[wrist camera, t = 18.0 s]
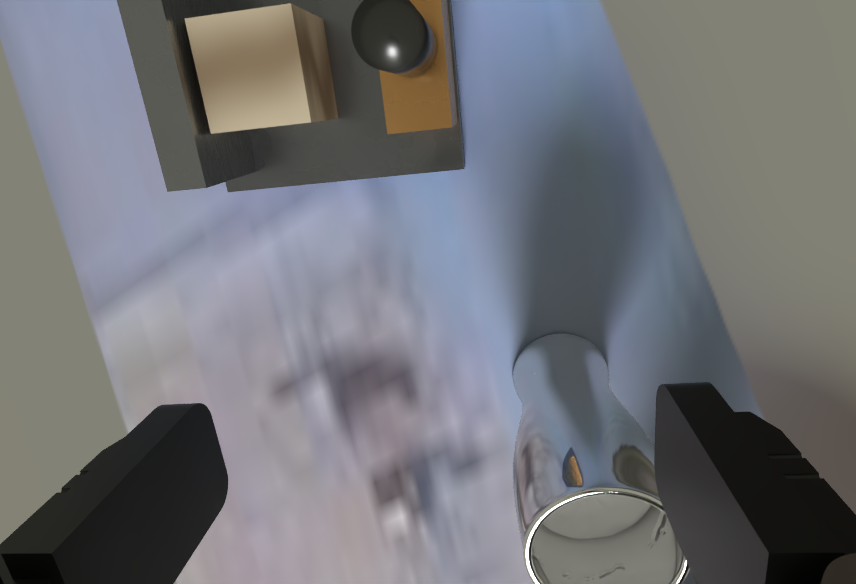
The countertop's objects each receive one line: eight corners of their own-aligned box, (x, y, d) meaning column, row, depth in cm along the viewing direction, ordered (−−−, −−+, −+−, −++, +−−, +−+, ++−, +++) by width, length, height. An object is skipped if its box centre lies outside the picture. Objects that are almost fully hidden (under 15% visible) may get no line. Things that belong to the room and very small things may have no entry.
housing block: (338, 118, 30) (311, 122, 25) (253, 128, 31) (210, 134, 26) (323, 19, 28) (290, 3, 24) (233, 31, 29) (184, 18, 24)
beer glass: (616, 324, 34) (708, 485, 20) (612, 420, 36) (691, 624, 22) (504, 327, 35) (516, 483, 21) (507, 421, 37) (519, 618, 23)
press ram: (457, 122, 29) (442, 136, 19) (403, 128, 30) (358, 145, 19) (445, -24, 27) (419, -100, 17) (386, -16, 27) (325, -85, 17)
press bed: (465, 165, 32) (458, 185, 25) (238, 188, 33) (172, 212, 26) (445, -73, 28) (430, -131, 21) (190, -33, 30) (97, -73, 22)
